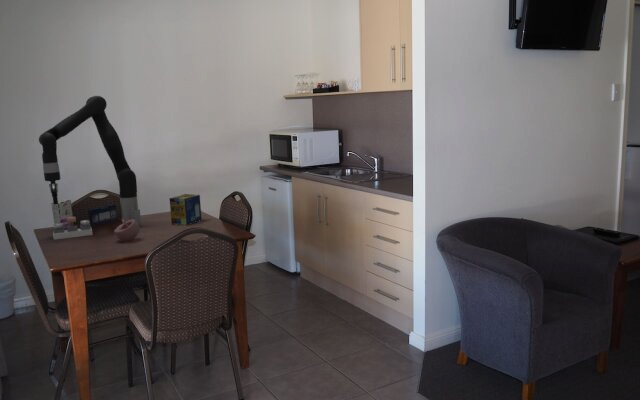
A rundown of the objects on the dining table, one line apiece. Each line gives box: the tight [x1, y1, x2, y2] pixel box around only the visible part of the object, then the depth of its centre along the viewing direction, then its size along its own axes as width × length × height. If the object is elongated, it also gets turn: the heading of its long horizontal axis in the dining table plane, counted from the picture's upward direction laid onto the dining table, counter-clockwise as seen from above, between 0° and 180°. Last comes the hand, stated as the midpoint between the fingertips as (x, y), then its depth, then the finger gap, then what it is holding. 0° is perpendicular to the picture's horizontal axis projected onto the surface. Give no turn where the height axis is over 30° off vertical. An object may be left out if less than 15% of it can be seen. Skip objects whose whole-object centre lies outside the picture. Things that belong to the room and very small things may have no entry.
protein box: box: [169, 193, 202, 226], centre depth 322 cm, size 10×15×16 cm
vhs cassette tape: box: [87, 204, 119, 227], centre depth 331 cm, size 18×3×10 cm, turn 148°
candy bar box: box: [51, 199, 75, 230], centre depth 317 cm, size 11×5×16 cm, turn 168°
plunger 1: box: [53, 223, 63, 230], centre depth 296 cm, size 4×4×4 cm
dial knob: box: [67, 216, 77, 226], centre depth 298 cm, size 4×4×5 cm
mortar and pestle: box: [113, 218, 140, 242], centre depth 281 cm, size 12×12×12 cm
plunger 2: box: [80, 219, 90, 226], centre depth 301 cm, size 4×4×4 cm
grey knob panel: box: [52, 224, 93, 241], centre depth 299 cm, size 19×7×5 cm, turn 115°
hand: (55, 204), depth 293 cm, fingers closed
